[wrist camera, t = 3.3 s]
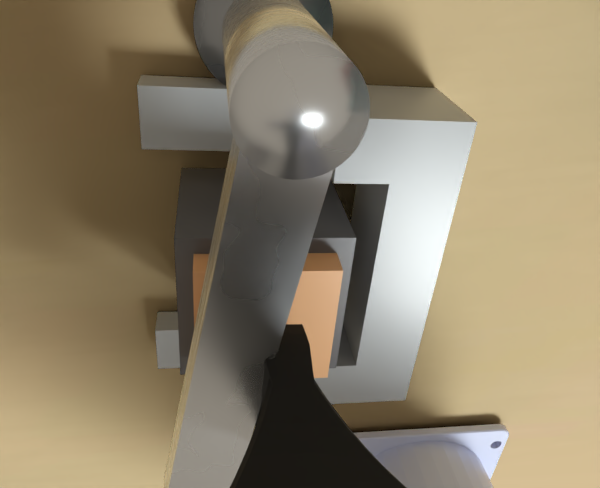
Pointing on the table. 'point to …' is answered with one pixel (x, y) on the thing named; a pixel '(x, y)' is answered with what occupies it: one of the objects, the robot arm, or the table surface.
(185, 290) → the orange and grey block
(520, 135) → the table surface
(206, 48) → the door handle base
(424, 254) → the socket
